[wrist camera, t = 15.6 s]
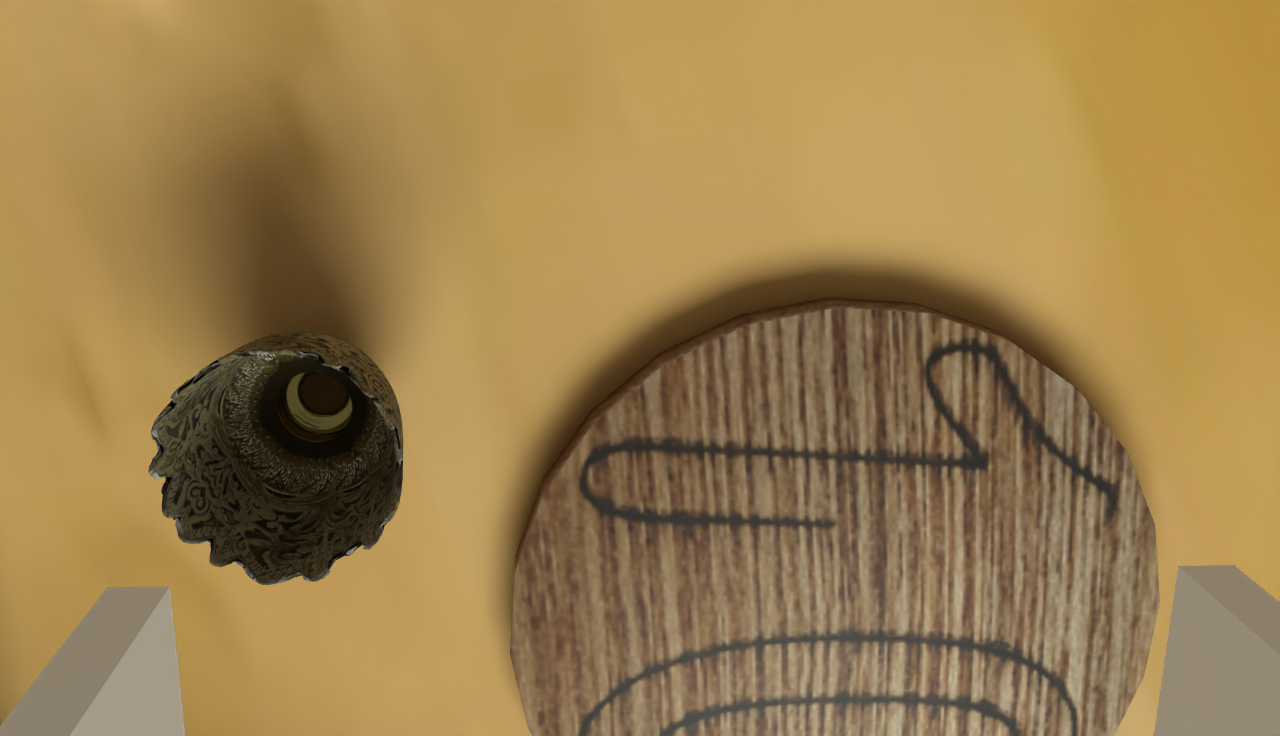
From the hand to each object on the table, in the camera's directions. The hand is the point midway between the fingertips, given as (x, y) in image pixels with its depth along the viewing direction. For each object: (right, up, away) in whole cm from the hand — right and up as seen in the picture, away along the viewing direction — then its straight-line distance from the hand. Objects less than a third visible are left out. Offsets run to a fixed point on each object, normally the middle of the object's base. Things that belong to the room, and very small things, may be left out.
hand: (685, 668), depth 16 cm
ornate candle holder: (-12, +3, +28) cm, 31 cm away
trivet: (+7, -5, +33) cm, 34 cm away
